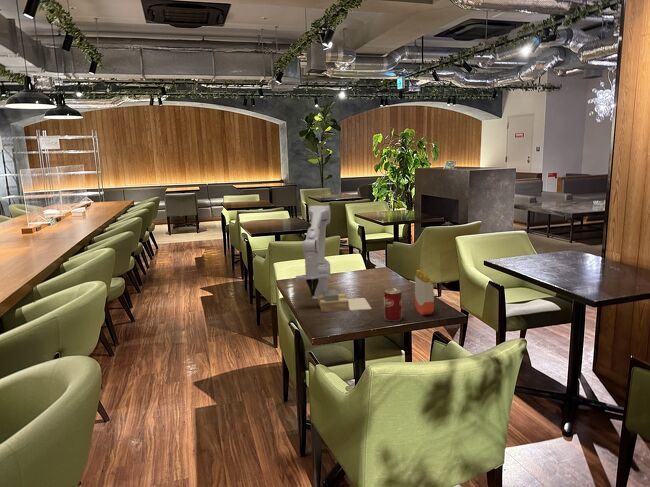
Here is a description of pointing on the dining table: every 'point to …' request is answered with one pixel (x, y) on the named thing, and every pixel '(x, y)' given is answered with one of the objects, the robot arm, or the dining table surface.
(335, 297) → the slate tile
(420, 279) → the french fries container
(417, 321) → the dining table surface
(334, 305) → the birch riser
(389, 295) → the soda can
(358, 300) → the placemat
